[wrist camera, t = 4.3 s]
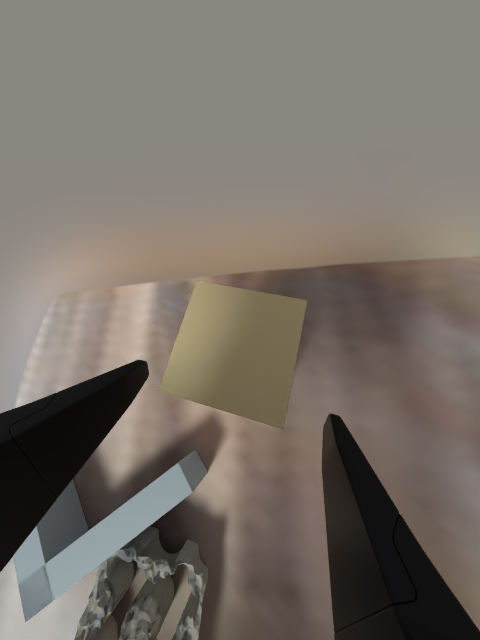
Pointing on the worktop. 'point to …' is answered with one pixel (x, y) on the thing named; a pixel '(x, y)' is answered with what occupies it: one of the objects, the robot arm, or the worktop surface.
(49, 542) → the corner fence
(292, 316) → the tea tin
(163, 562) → the egg carton
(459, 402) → the worktop surface
